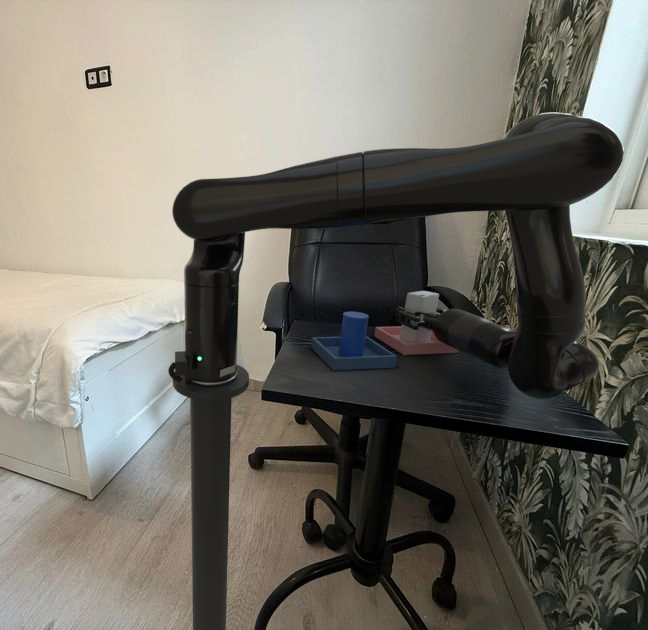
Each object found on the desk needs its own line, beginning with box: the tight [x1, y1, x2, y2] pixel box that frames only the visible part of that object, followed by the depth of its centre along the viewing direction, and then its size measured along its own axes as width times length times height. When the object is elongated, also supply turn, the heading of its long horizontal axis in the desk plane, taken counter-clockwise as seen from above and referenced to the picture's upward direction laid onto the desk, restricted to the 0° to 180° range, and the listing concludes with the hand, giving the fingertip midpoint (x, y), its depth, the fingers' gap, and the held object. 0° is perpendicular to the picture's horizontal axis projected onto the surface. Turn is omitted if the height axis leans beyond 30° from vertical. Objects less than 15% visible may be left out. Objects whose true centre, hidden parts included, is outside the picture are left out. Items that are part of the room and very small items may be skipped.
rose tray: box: [374, 325, 459, 356], centre depth 85 cm, size 13×12×2 cm
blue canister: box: [339, 311, 370, 357], centre depth 75 cm, size 5×5×9 cm
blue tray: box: [310, 335, 398, 371], centre depth 76 cm, size 13×12×2 cm
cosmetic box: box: [399, 290, 440, 344], centre depth 83 cm, size 6×4×12 cm
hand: (413, 310), depth 85 cm, fingers open, 8 cm apart
